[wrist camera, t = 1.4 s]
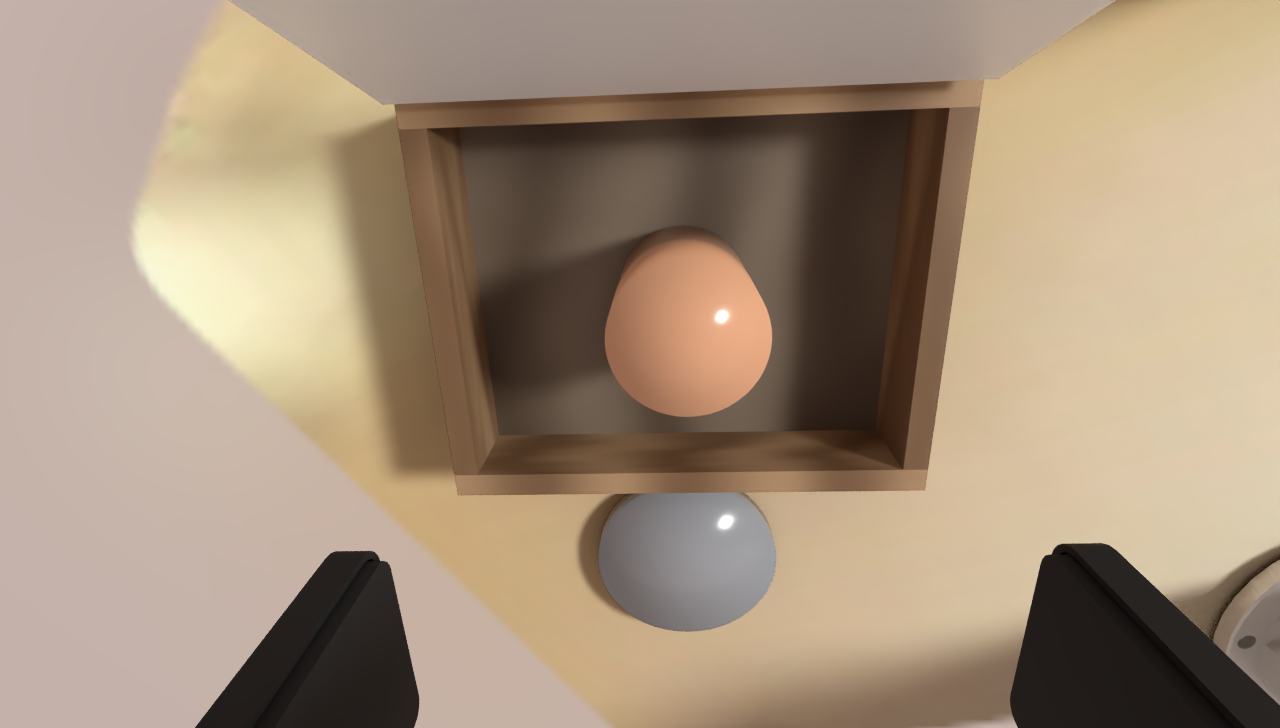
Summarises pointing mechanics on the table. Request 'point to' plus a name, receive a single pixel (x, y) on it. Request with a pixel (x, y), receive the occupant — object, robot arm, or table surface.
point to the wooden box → (744, 217)
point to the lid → (660, 43)
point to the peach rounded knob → (687, 324)
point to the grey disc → (686, 558)
